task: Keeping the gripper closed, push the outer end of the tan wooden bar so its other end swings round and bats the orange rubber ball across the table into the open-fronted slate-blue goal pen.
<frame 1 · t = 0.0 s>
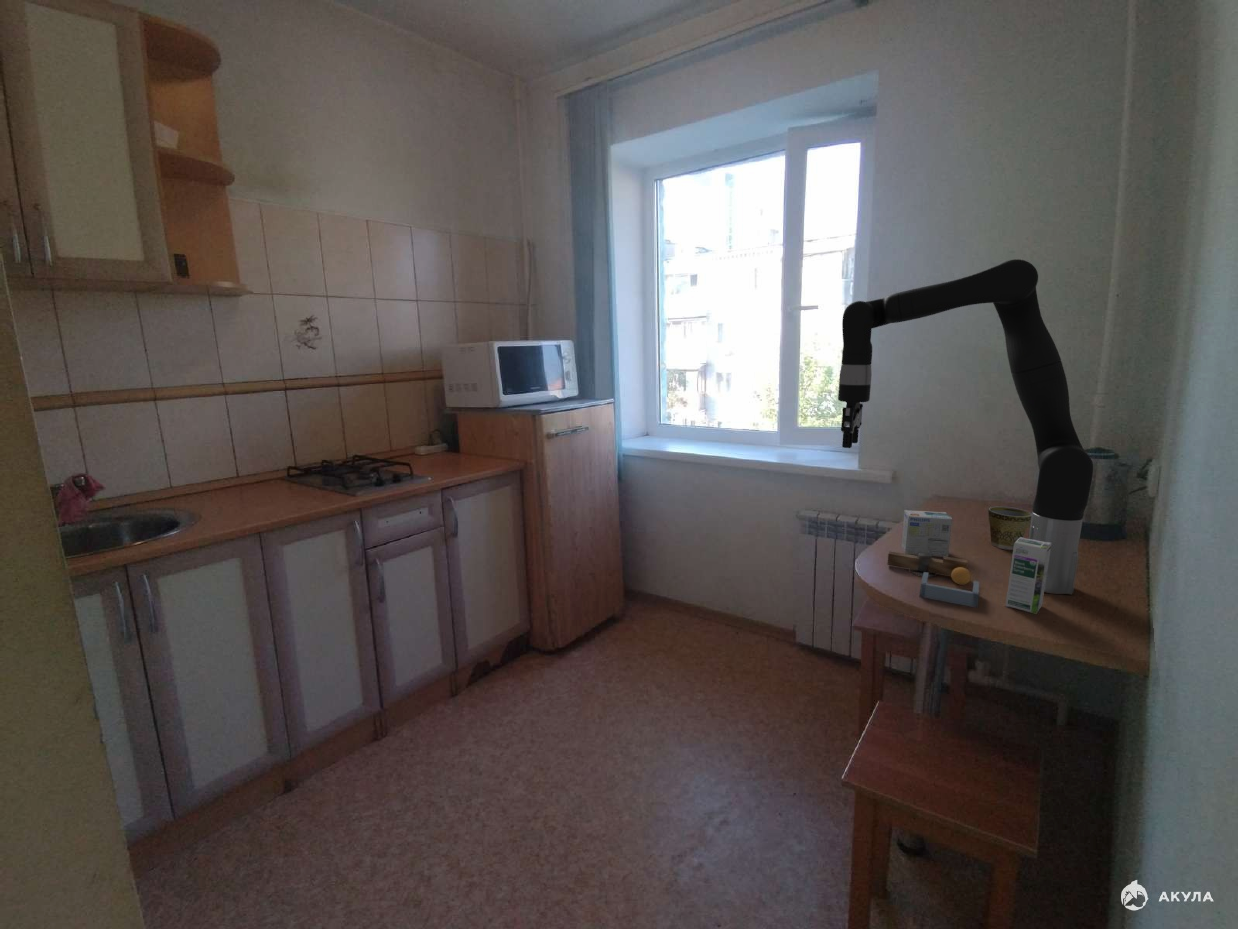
hand: (850, 445, 151), 29 cm above the table, fingers open, 8 cm apart
ceramic cup: (1005, 545, 162), on the table
ball: (960, 583, 136), on the table
goal pen: (948, 595, 130), on the table
light bulb box: (923, 552, 157), on the table
pivot base: (923, 572, 143), on the table
tan wooden bar: (926, 562, 142), point 3 cm above the table, hinge at 0.0°
syrup box: (1023, 607, 124), on the table
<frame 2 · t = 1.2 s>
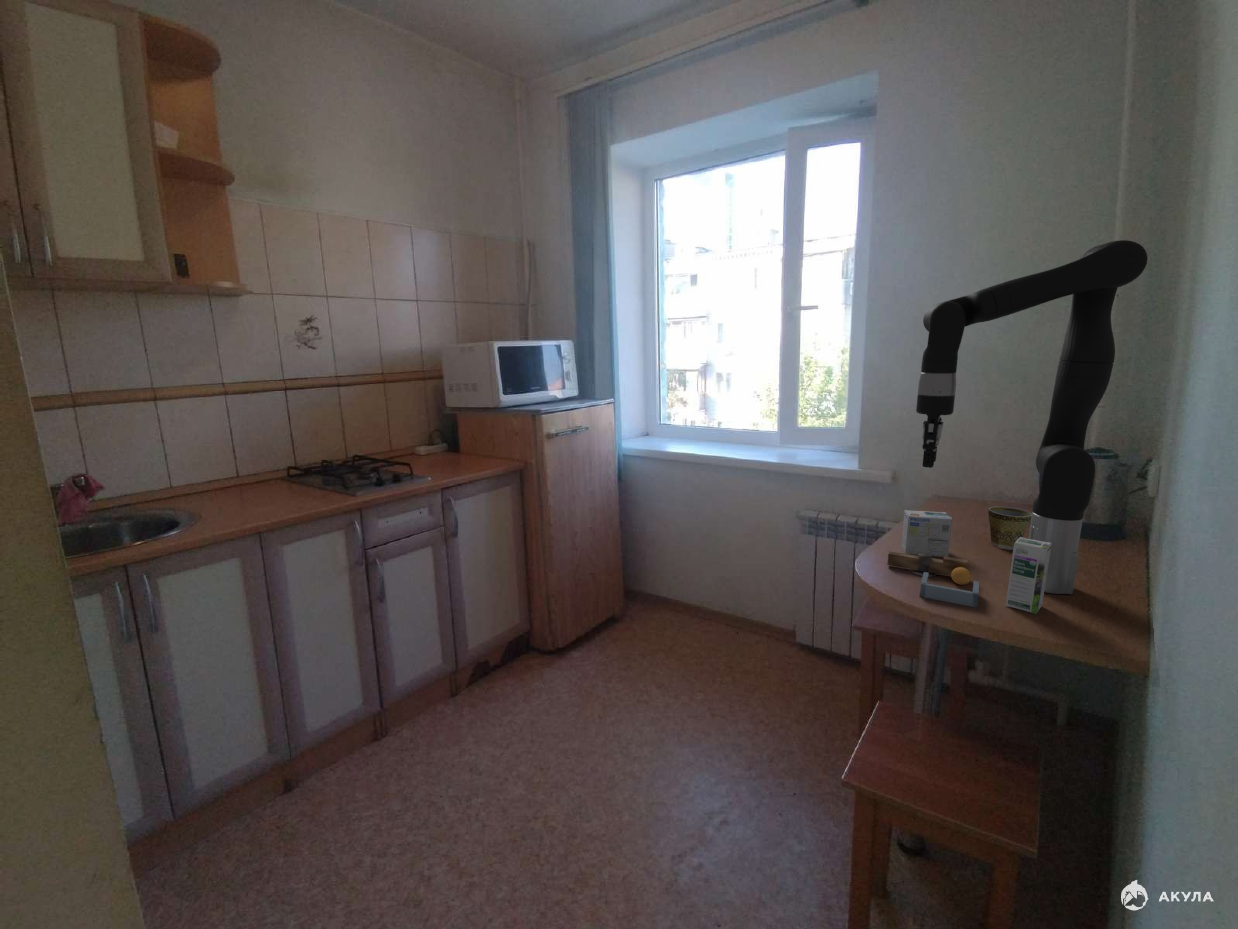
hand: (929, 464, 135), 28 cm above the table, fingers open, 7 cm apart
nothing on the table moved.
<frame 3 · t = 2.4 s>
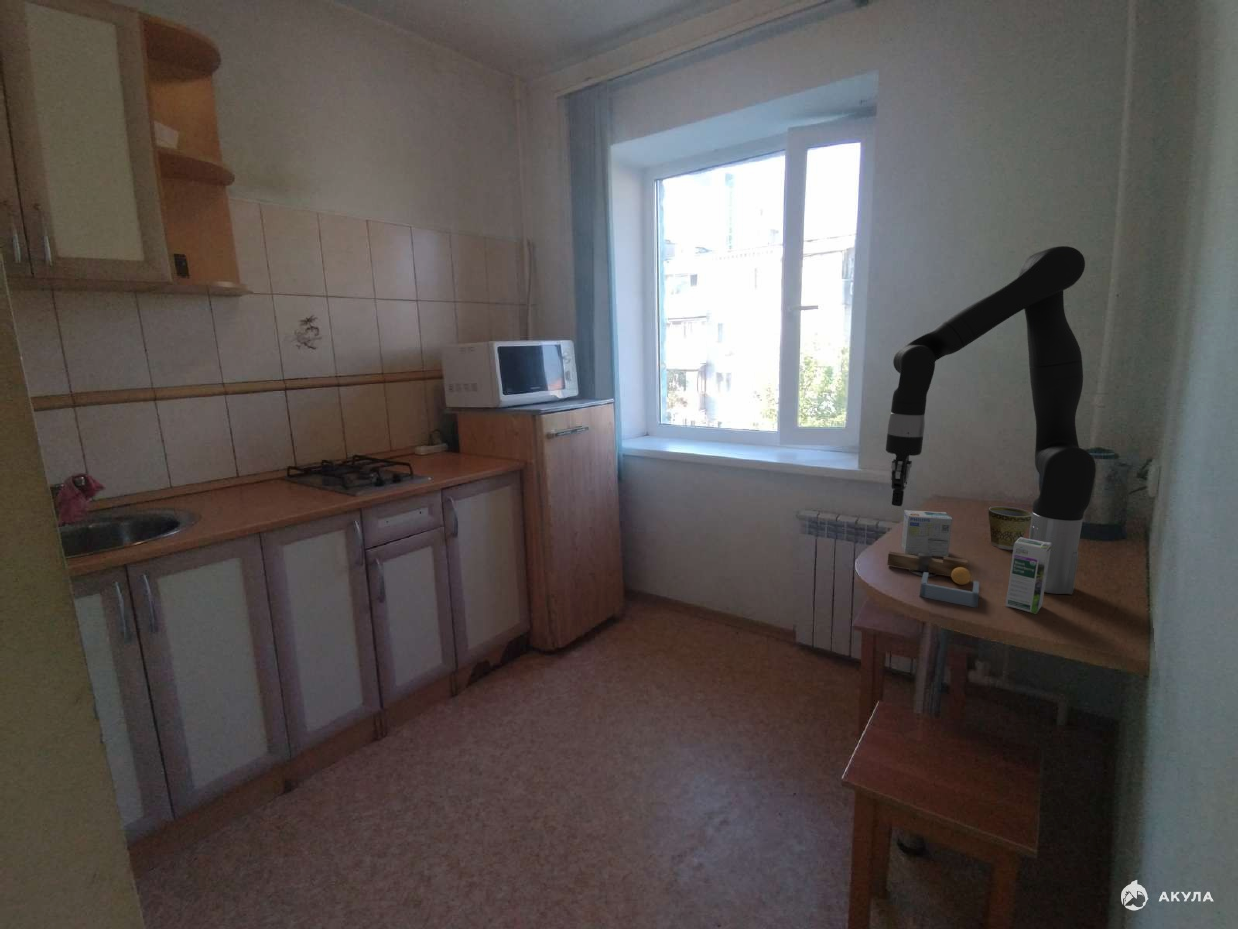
hand: (896, 505, 138), 18 cm above the table, fingers closed
nothing on the table moved.
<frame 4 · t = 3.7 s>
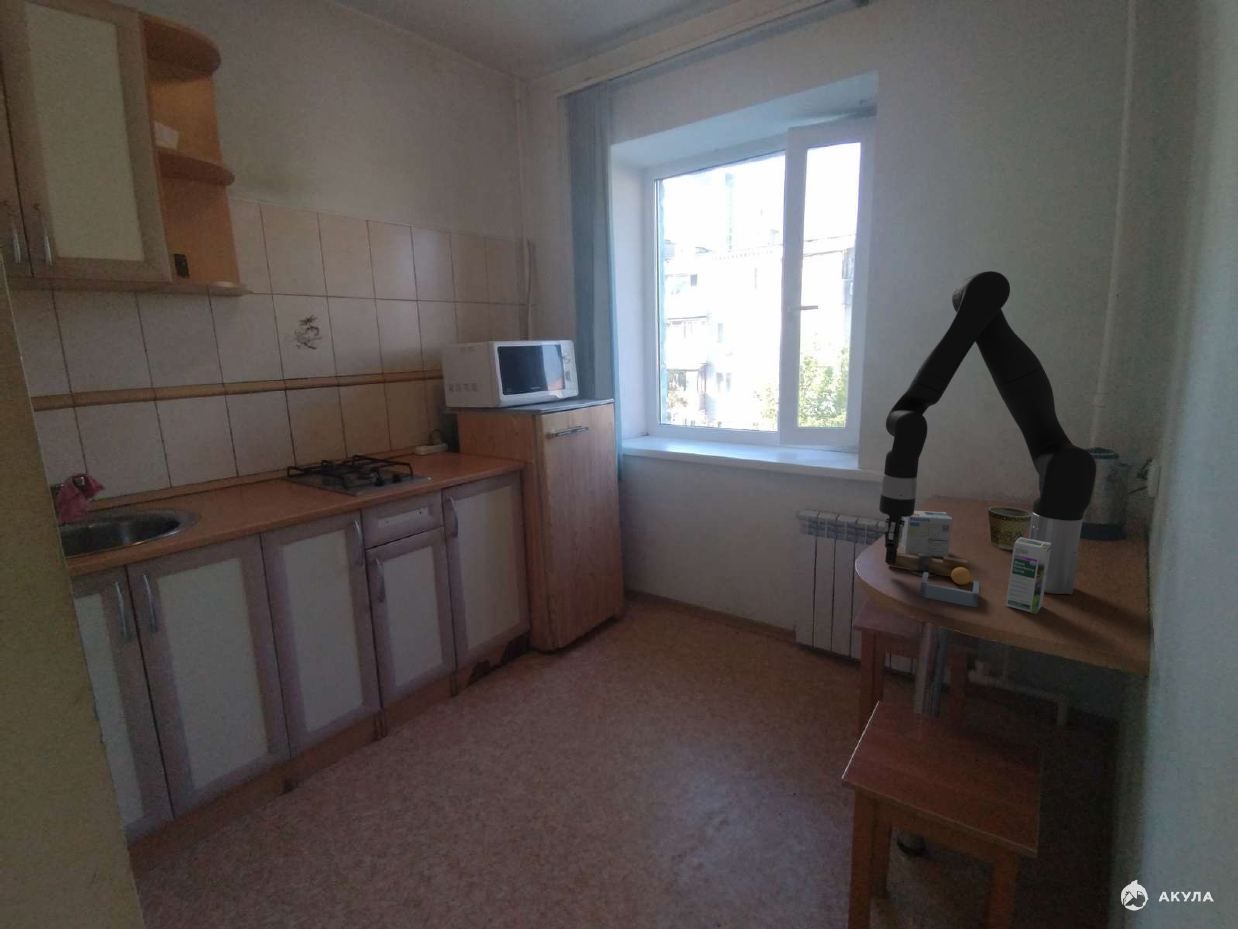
hand: (890, 562, 141), 3 cm above the table, fingers closed
nothing on the table moved.
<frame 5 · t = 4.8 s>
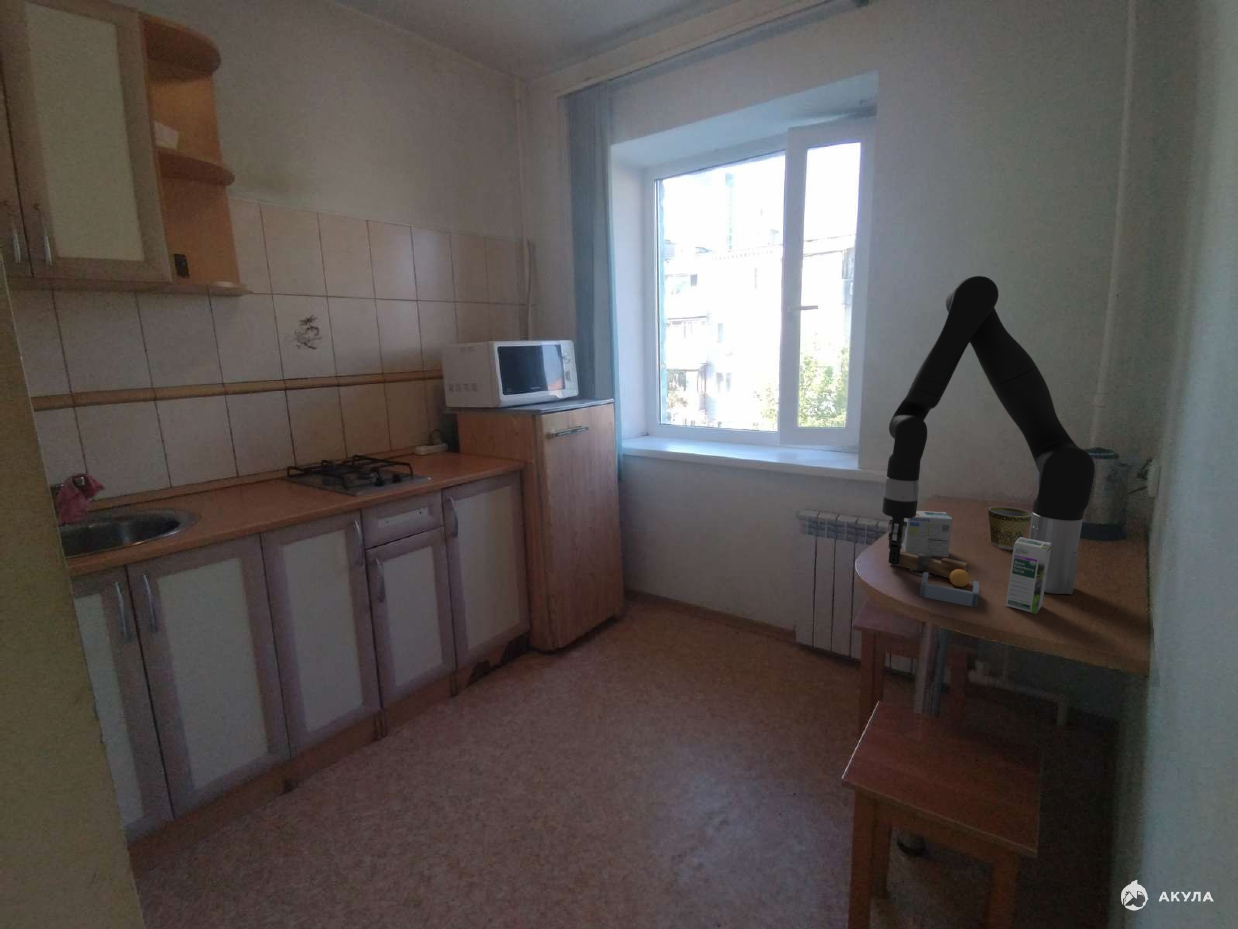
hand: (893, 563, 145), 2 cm above the table, fingers closed
ball: (959, 582, 136), on the table, tilted 40°
tan wooden bar: (926, 562, 142), point 3 cm above the table, hinge at -13.6°, touching gripper
everything else where it was.
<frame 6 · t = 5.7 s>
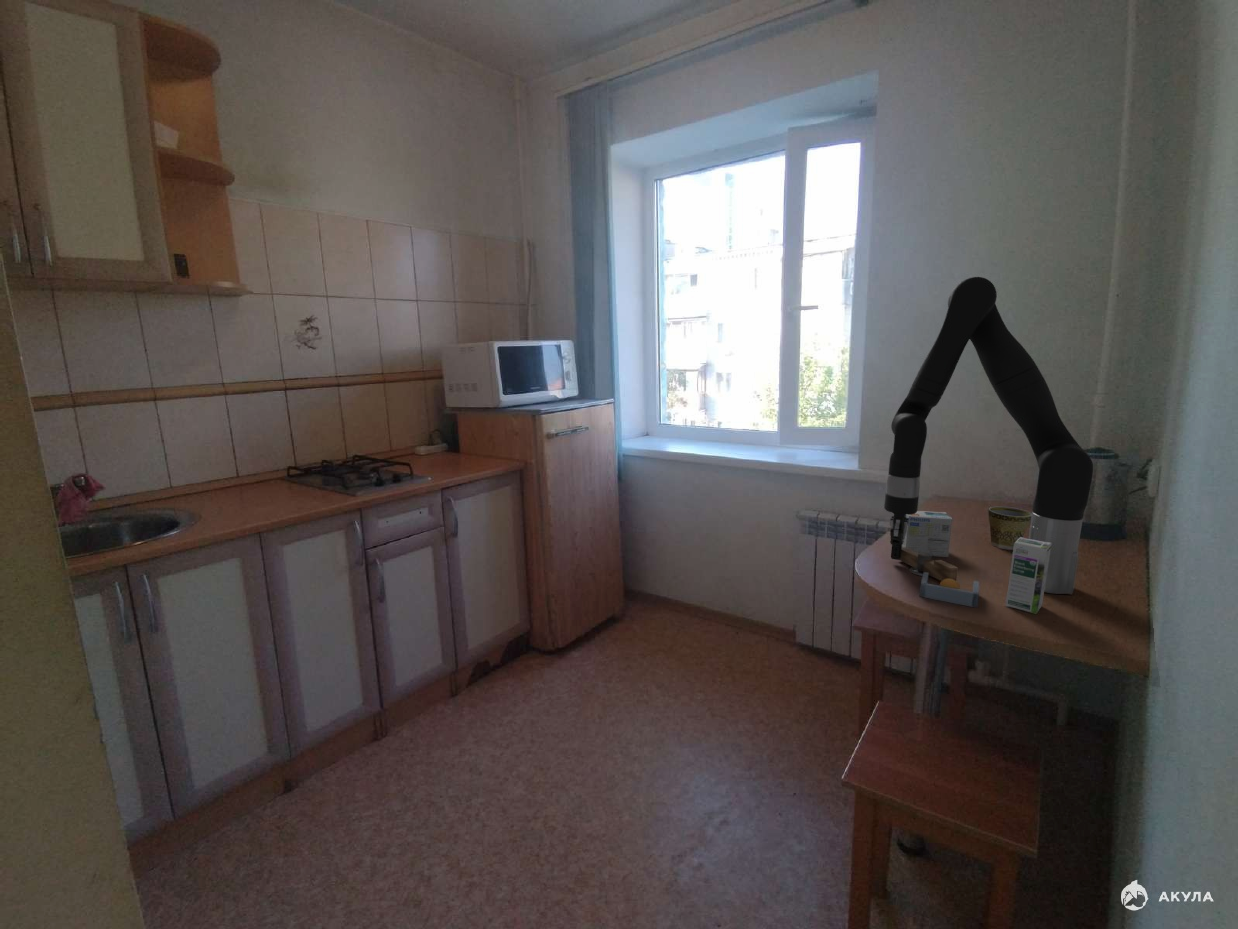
hand: (895, 558, 148), 2 cm above the table, fingers closed
ball: (946, 588, 128), point 2 cm above the table, tilted 100°
tan wooden bar: (925, 563, 142), point 3 cm above the table, hinge at -44.1°, touching gripper
everything else where it was.
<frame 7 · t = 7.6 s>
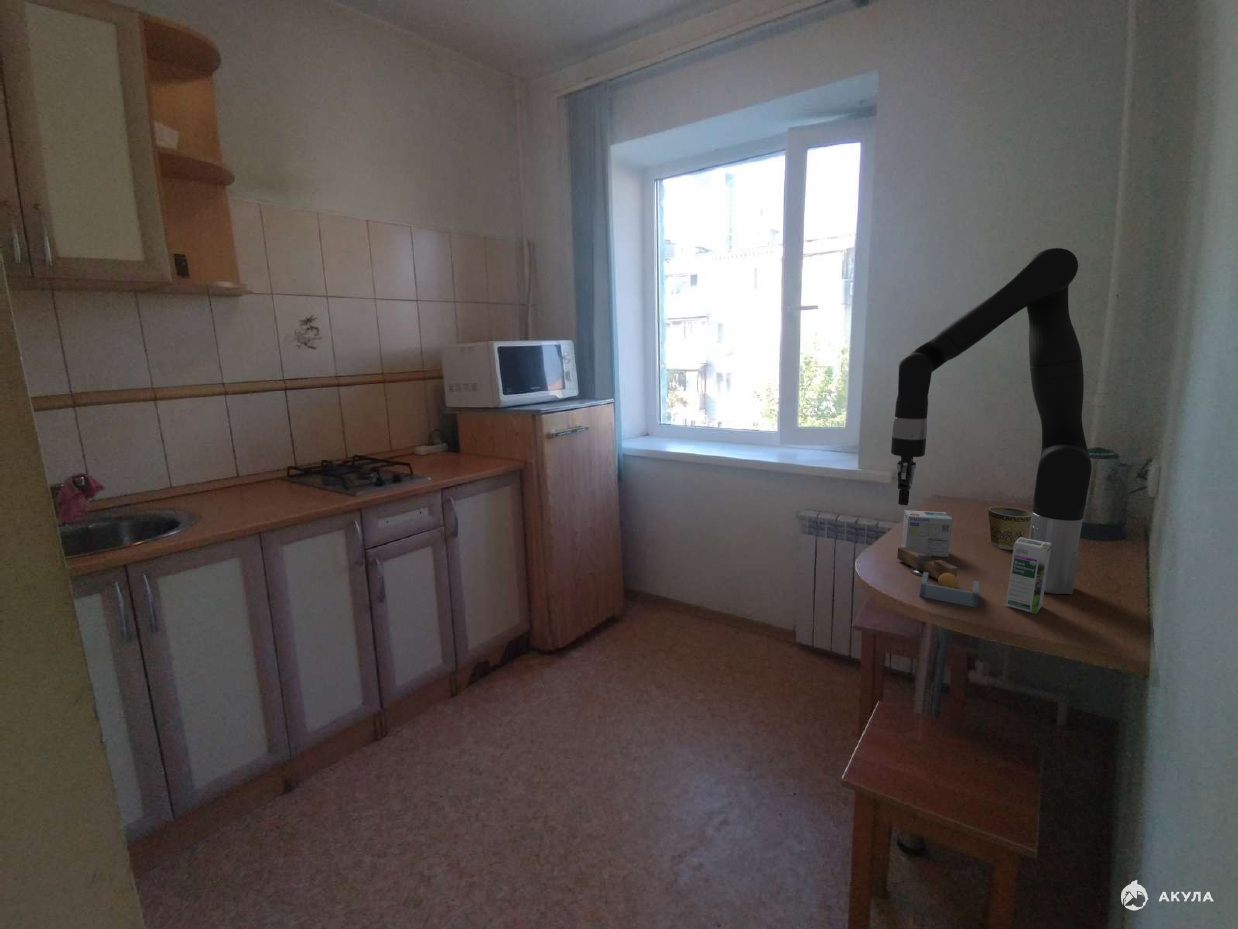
hand: (903, 504, 145), 16 cm above the table, fingers closed
ball: (945, 573, 133), point 4 cm above the table, tilted 152°
tan wooden bar: (925, 563, 142), point 3 cm above the table, hinge at -44.5°
everything else where it was.
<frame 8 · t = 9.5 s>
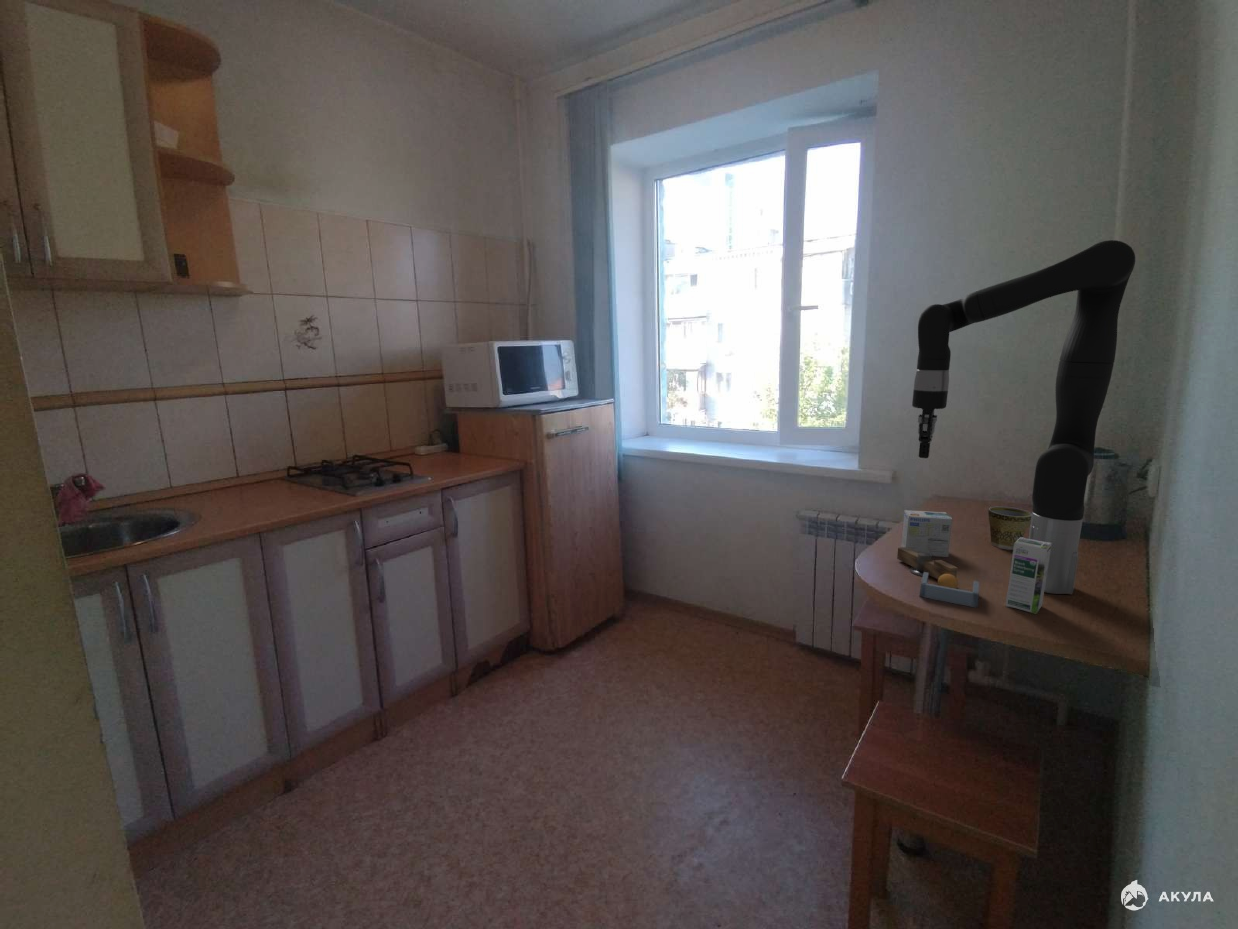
hand: (923, 457, 146), 27 cm above the table, fingers closed
at the end: ball inside the target area on the goal pen (2.3 cm from its centre), point 3.8 cm above the goal pen's base; tan wooden bar at -44° (first picture: +0°) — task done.
